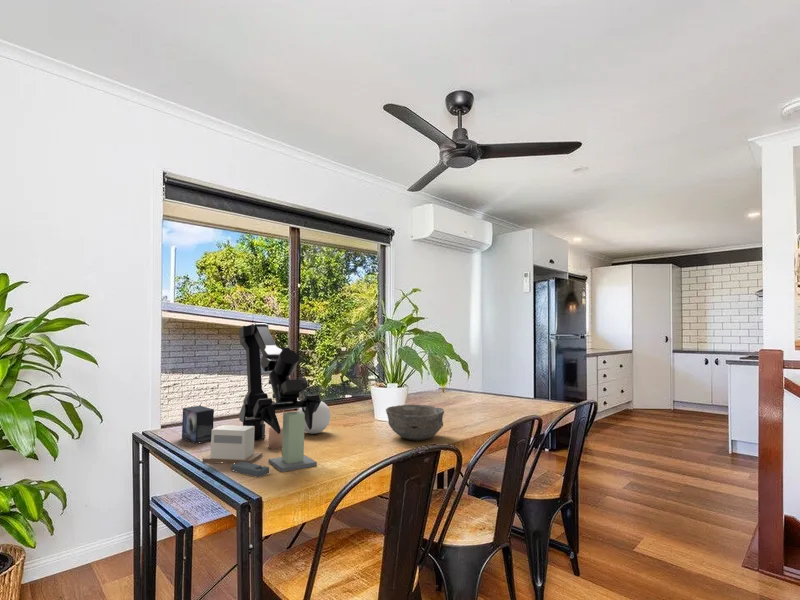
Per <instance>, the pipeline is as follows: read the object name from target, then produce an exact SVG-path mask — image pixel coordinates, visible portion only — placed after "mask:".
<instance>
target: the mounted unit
mask: <svg viewBox="0 0 800 600" xmlns="http://www.w3.org/2000/svg"><path fill="white" fill-rule="evenodd" d="M254 431H255V426H243V425H232V424H230V425H229V424H221V425H219V426H217V427H213V429H212V432H211V441H210V454H209V455H207V456H205V457H203V458H202V463H209V462H223V463H222V464H230V463H239V462H242V461H243V462H248V463H252V464H254V462H256V461H258V460H259V459H261V458H262V457H263V452H255V441H254Z"/></svg>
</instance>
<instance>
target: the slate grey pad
mask: <svg viewBox="0 0 800 600" xmlns="http://www.w3.org/2000/svg"><path fill="white" fill-rule="evenodd" d="M268 463H269V464H270V465H271V466H273V467H275V469H277V470H278V471H280V472H281V473H284V472H290V471H296V470H301V469H307V468H311V467H317V466H318V462H317V461H316V460H314V459H312V458H310V457H309V456H307V455H305V454H304V460H303V461H301V462H296V463H290V464H288V463H286V462H284V461H283V460H282V456H279V457H278V456H277V457H273V458H269V459H268Z"/></svg>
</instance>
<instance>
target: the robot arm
mask: <svg viewBox="0 0 800 600" xmlns="http://www.w3.org/2000/svg"><path fill="white" fill-rule="evenodd" d="M269 328H270V327H269V325H268V324H267V323H264V322H263V323H262V322H260V323H259V322H255V323H252V324H250V325H249V324H248V325H243V326H241V327H240V328H239V331H238V337H239V339H240V345H241V346H242V347H243V348H244V351H245V353H246V354H245V355H246V356H245V357H246V375H247V376H246V377H247V378H246V379H247V380H246V381H247V393H246V394H245V397H244V398H243V403H242V406H241V408H240V410H239V414H238V418H239V421H240V422H242V426H255V431H254V442H255V441H260V440H262V439H263V438H265V437H266V424H267V425H268V426H269V427H272V428H273V429H274V430H275V431H276V432H277V433H278V434H280V432H281V431H280V426H281V425H280V423H279V421H278V418H277V417H278V416H277V413H276V411H279V410H280V411H281V410H294V409H295V410H296V409H300V408H302V411H303V412H304V414H305V421H306V424H307V426H308V428H309V429H310V430H311V429H312V419H313V413H314V412H316V410H317V408H318V406H319V405H320V403H321V401H322V399H321V396H320V395H319V394H317V393H316V394H307V395H306V396H305V397H304V399H303V400H297V399H299V398H300V393H301V392H302V391H305V390H306V389H307V388H308V386H309V384H308V383H309V382H308V380H307V379H306V377H299V379H291V377H290V376H292V375H293V374H294V372H295V369H296V367H297V365H298V363H299V361H300V355H299V354H298V353H297V352H296V351H293V350H291V348H290V347H282V348H280V347H278V346H277V344H276V342H275V340H274V339H273V338H274V337H272V334H271V332H270V330H269ZM261 353H262V356H261ZM262 369H263V371H264V372H266V373H267V372H270V373H269V376H268V378H269V379H268V384H269V385H271V389H272V392H273V393H272V398H271V397H270V398H269V395H268V393H265V391H264V389H263V386H262V385H263V384H262V382H263V381H262ZM273 399H275V402H274V401H273Z"/></svg>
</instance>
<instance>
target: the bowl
mask: <svg viewBox="0 0 800 600" xmlns="http://www.w3.org/2000/svg"><path fill="white" fill-rule="evenodd" d="M385 413H386V415H387V420H388V426H389V427H390V428H391V429H392V431H393V432H394V433H395V434H396V435H398V436H400V437H401V438H403V439H405V440H409V441H414V440H415V442H416V441H417V440H421V441H425V439H426V440H428V439H431V438H432V437H434V436H435V435H436V434H437V433H438V432H439V431H441V429H442V428H443V426H444V422H443V419H444V418H443V416H444V413H445V410H444V408H442V407H435V406H432V405H428V404H427V405H426V404H399V405H395V406H394V405H392V406H388V407H387V408H385Z"/></svg>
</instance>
